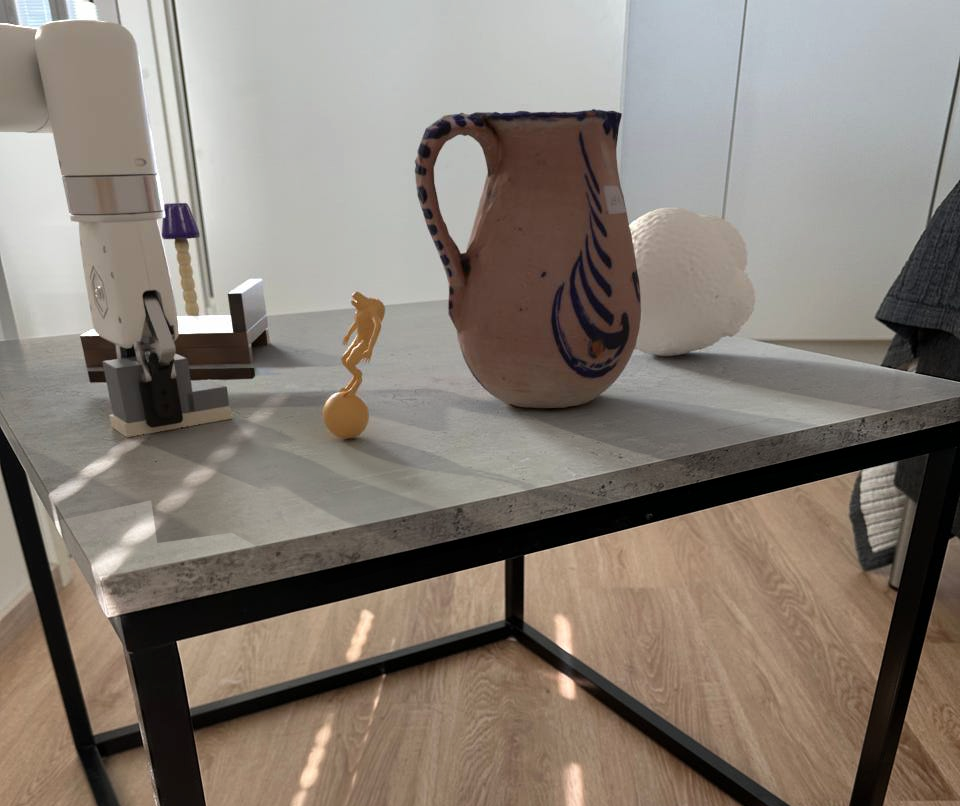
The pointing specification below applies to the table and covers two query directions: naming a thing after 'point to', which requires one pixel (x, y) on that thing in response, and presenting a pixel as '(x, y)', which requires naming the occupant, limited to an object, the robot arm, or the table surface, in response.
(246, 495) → the table surface
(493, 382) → the ceramic pitcher
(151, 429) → the trainer
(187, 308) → the toy lamp
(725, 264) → the white lobed lump
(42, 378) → the table surface
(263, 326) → the wooden doll bed
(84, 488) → the table surface
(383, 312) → the figurine
